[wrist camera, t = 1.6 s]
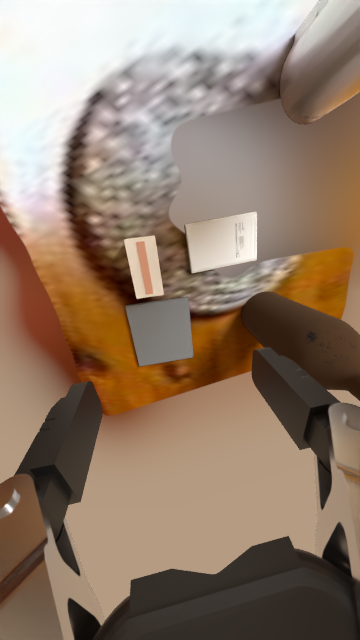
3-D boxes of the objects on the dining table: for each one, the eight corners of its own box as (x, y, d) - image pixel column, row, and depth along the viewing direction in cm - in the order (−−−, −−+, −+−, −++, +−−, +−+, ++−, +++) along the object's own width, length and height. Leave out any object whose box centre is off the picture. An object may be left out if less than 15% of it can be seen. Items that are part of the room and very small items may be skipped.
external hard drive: (183, 224, 33) (252, 211, 34) (190, 272, 37) (252, 259, 37) (185, 224, 32) (257, 211, 32) (192, 273, 35) (257, 260, 36)
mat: (125, 305, 37) (125, 306, 36) (187, 296, 38) (188, 297, 37) (139, 364, 43) (139, 366, 42) (192, 355, 44) (193, 357, 43)
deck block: (127, 238, 32) (123, 239, 28) (154, 235, 33) (154, 235, 28) (138, 290, 36) (136, 299, 31) (161, 287, 36) (163, 295, 32)
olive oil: (231, 328, 42) (324, 438, 20) (250, 282, 39) (393, 353, 16) (271, 337, 45) (393, 442, 23) (293, 295, 41) (468, 370, 19)
